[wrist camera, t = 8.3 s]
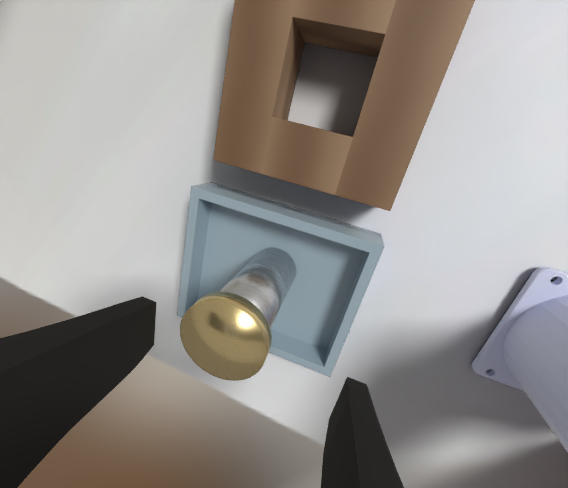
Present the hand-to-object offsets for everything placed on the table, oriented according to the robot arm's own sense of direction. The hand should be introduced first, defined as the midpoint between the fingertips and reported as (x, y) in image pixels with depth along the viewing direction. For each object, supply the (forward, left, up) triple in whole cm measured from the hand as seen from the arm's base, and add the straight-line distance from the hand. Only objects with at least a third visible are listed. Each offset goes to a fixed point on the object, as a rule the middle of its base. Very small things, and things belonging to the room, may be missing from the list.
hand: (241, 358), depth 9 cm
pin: (+1, +1, -10) cm, 10 cm away
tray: (+1, +2, -10) cm, 11 cm away
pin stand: (+1, -10, -10) cm, 15 cm away
